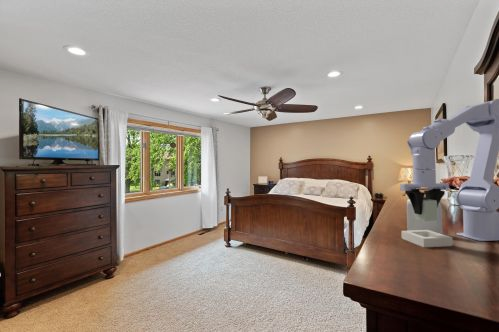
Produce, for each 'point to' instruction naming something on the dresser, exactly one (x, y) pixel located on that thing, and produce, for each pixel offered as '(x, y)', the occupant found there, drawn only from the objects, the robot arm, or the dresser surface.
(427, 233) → the white square frame
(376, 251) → the dresser surface
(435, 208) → the pale green block
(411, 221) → the photo printer
